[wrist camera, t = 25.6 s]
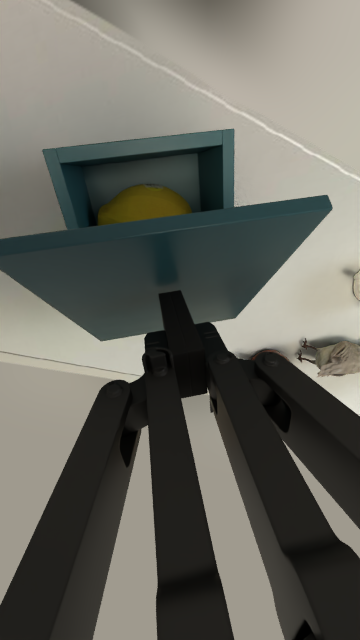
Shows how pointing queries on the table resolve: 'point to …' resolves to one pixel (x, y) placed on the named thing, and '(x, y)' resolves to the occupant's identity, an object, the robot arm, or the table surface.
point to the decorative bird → (336, 359)
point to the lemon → (142, 205)
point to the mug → (357, 285)
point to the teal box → (143, 172)
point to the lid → (161, 264)
